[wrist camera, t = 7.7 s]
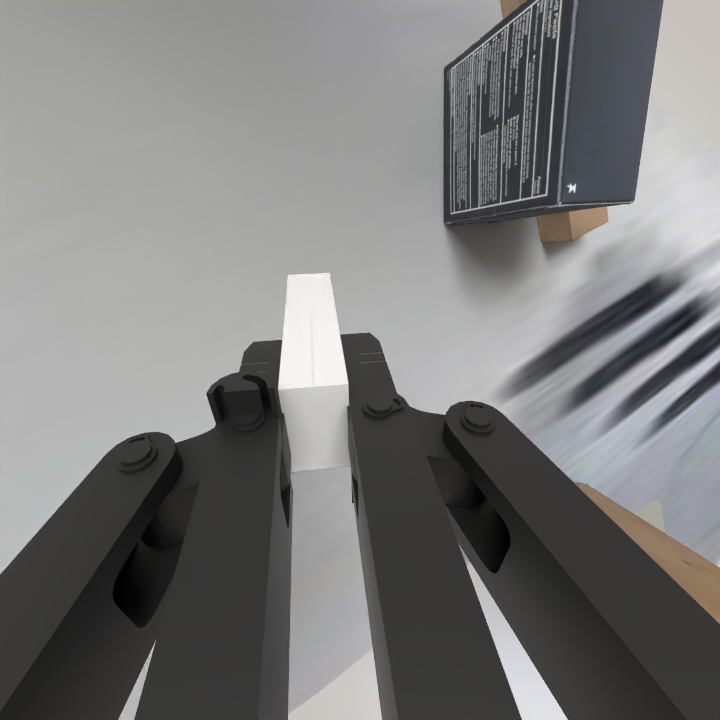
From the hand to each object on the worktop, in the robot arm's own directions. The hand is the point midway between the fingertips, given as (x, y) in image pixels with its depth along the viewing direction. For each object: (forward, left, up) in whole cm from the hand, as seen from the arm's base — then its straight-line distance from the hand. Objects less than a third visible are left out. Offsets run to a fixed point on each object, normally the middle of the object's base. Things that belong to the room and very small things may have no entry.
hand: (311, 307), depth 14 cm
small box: (+4, +18, -12) cm, 23 cm away
